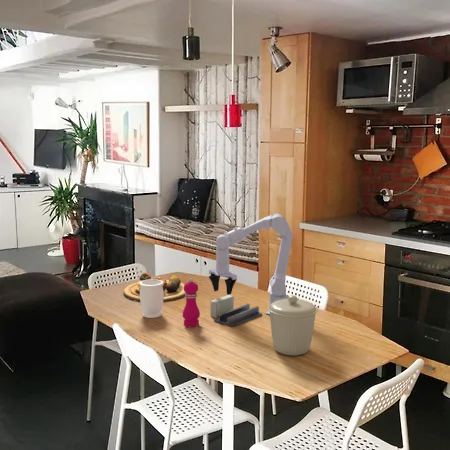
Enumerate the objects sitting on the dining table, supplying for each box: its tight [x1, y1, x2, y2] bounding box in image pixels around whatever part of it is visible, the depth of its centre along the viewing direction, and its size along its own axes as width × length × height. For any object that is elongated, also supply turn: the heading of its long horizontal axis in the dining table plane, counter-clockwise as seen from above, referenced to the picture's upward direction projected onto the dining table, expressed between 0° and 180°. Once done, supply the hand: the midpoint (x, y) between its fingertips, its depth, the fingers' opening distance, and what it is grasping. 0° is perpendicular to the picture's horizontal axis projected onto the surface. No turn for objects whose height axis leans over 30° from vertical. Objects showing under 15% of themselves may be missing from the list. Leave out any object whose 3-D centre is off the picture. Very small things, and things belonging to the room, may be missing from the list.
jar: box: [140, 278, 164, 319], centre depth 244 cm, size 11×10×15 cm
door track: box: [214, 303, 263, 328], centre depth 241 cm, size 20×10×3 cm, turn 139°
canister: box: [267, 294, 319, 357], centre depth 205 cm, size 18×18×21 cm
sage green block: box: [210, 294, 235, 319], centre depth 247 cm, size 12×4×7 cm, turn 139°
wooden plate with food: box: [123, 271, 186, 303], centre depth 278 cm, size 32×32×8 cm
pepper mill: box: [182, 277, 201, 328], centre depth 232 cm, size 7×7×20 cm
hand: (222, 292), depth 246 cm, fingers open, 7 cm apart
